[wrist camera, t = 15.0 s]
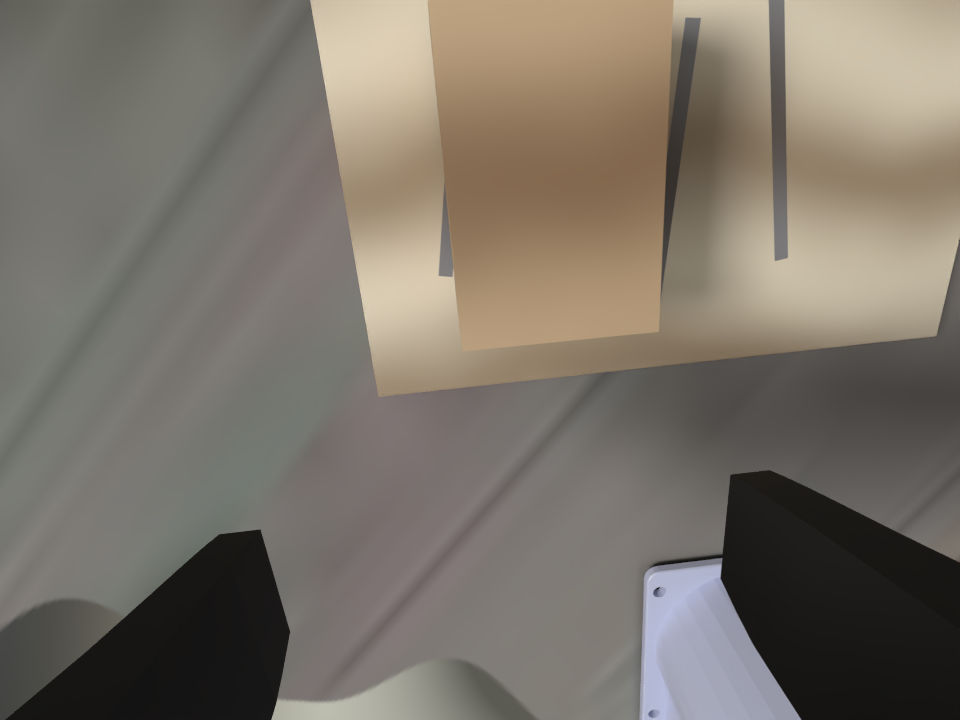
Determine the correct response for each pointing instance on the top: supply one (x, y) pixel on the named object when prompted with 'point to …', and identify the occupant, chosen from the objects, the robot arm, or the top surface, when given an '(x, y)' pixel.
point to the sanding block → (553, 164)
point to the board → (685, 186)
